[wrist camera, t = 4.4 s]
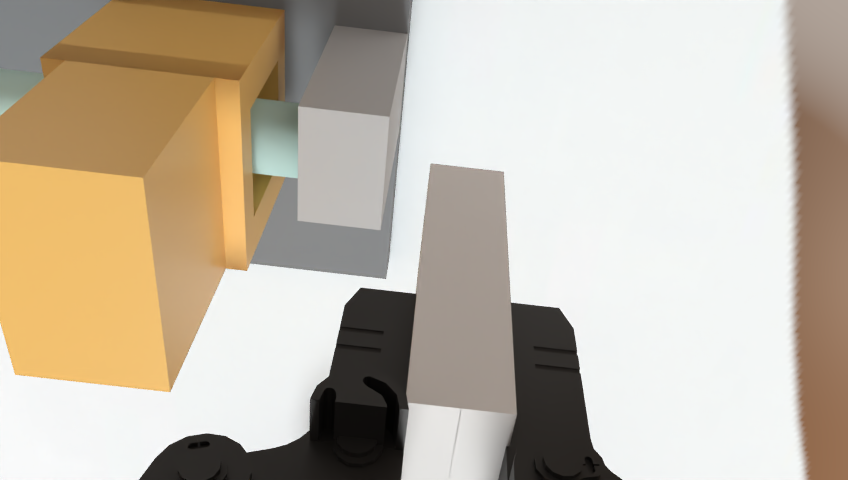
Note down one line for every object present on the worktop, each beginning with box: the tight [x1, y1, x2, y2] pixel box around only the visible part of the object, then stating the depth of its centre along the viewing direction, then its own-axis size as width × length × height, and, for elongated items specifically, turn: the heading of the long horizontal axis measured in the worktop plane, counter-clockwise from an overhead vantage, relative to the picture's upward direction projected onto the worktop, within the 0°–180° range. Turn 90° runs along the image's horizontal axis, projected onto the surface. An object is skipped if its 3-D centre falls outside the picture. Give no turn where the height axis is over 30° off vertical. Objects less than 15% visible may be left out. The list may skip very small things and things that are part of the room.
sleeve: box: [0, 0, 285, 392], centre depth 17 cm, size 5×4×8 cm
